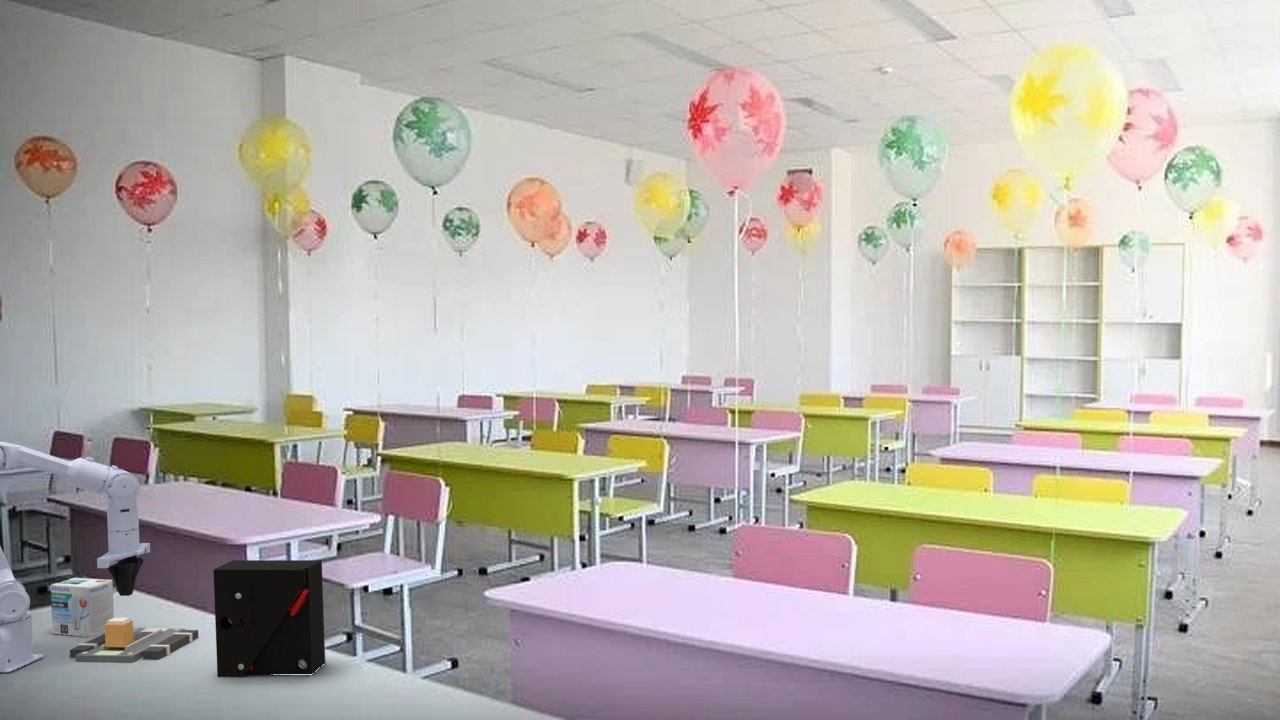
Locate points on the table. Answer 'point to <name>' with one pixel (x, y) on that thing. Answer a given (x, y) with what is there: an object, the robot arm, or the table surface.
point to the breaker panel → (128, 646)
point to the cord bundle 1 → (87, 645)
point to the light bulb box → (81, 606)
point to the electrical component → (269, 617)
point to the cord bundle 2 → (170, 644)
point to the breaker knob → (119, 632)
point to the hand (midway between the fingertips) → (126, 594)
